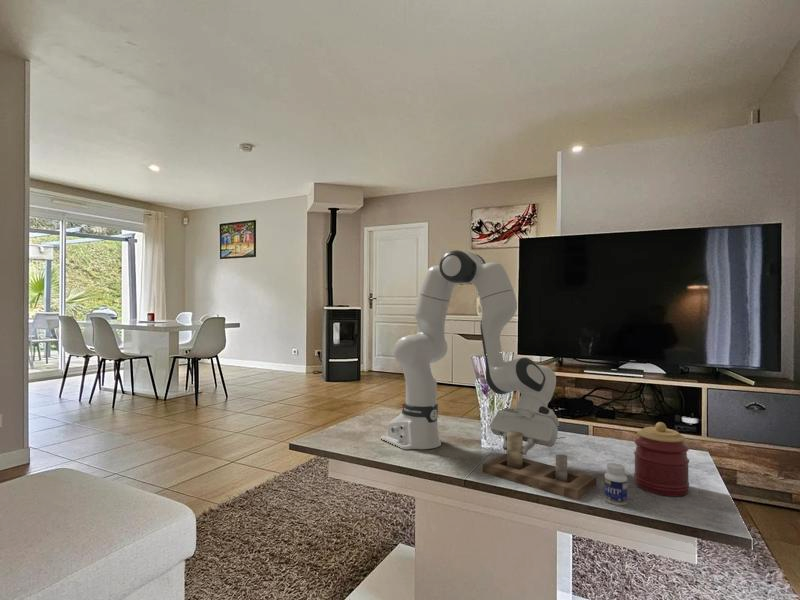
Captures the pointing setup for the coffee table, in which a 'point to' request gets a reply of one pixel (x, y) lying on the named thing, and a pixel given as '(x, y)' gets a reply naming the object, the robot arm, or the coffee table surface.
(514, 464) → the wooden peg
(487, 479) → the coffee table surface
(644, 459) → the canister
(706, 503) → the coffee table surface
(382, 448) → the coffee table surface
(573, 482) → the wooden peg holder
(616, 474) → the pill bottle
